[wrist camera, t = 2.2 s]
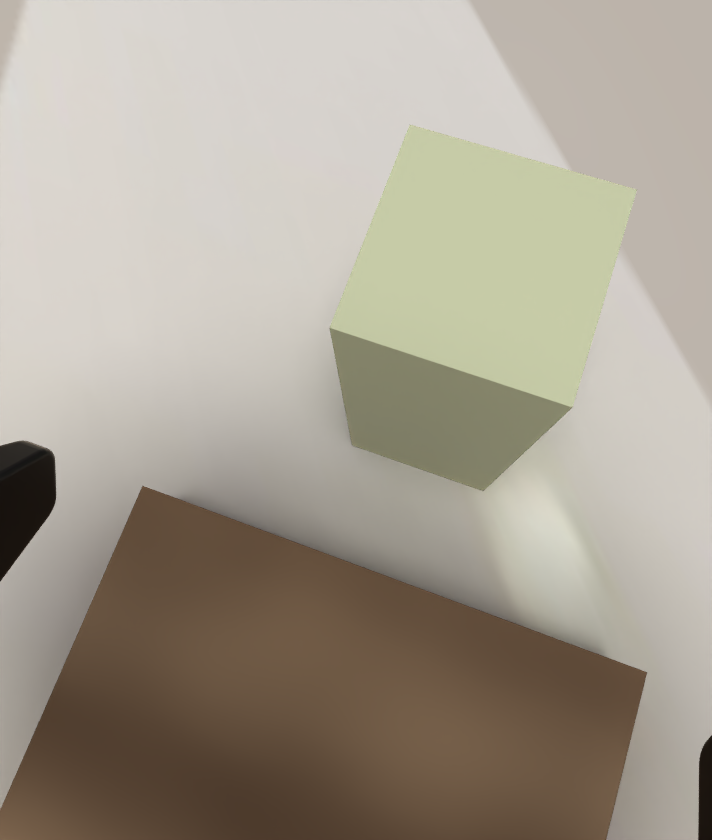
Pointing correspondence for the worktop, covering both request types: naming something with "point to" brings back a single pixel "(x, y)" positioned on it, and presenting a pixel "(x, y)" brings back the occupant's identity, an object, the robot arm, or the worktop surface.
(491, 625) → the base
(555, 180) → the block
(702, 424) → the worktop surface
